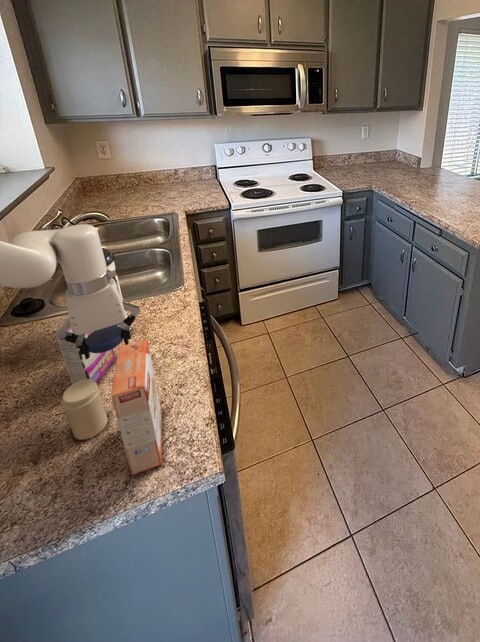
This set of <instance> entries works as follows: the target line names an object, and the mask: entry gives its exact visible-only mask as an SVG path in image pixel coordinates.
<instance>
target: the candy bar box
mask: <svg viewBox="0 0 480 642" xmlns="http://www.w3.org/2000/svg"><path fill="white" fill-rule="evenodd" d="M67 332H71V333H73V331H72V328H71V327H70V328H69V329H68V330H67ZM93 332H94V331H93ZM91 333H92V332H90V333H87V334H85V337H86V338H87V337H88V336H89V335H90V334H91ZM55 340H56V343H57V346H58V348H59V351H60V354H61V357H62V359H63V362H64V365H65V368H66V371H67V373H68V377H69V380H70V382H71V385H73V384H74V383H76V382H78V381H81V380H85V379H91V380H94V381H95V383H96V384H97V385H98V383H99V382H100V380H101V379H102V378H103V377H104V375H105V374H106V372H107V370H109V368H110V367H111V365H112V364H113V363H114V361H115V359H117V356H116V355H115V350H114V348H113V349H111V350H109V351H106V352H103V353H91V352H90V358H89V359H86V358H85V355H84V354H83V355H81V353H80V350H79V347H78V346H76V345H75V344H74V343H71V342H67V341H66V340H65V339H61V338H59V337H56V338H55Z"/></svg>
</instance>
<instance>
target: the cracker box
mask: <svg viewBox="0 0 480 642" xmlns="http://www.w3.org/2000/svg"><path fill="white" fill-rule="evenodd" d="M114 368H115V369H114V375H113V382H112V389H111V394H110V396H111V400H112V404H113V408H114V412H115V416H116V420H117V424H118V427H119V433H120V435H121V439H122V443H123V446H124V451H125V455H126V458H127V463H128V466H129V470H130V474H131V476H134V475H137V474H140V473H143V472H146V471H148V470H151V469H153V468H156V467H159V466H161V465H162V464H163V463H162V461H163V459H162V454H163V453H162V451H163V450H162V448H163V447H162V445H163V444H162V443H163V442H162V440H163V439H162V428H163V427H162V425H163V424H162V407H161V402H160V395H159V390H158V385H157V381H156V377H155V371H154V366H153V361H152V355H151V350H150V345H149V340H148V339H144V340H139V341H136V342H131V343H129V344H128V345H125V344H124V345H118V349H117V356H116V361H115V367H114Z"/></svg>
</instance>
